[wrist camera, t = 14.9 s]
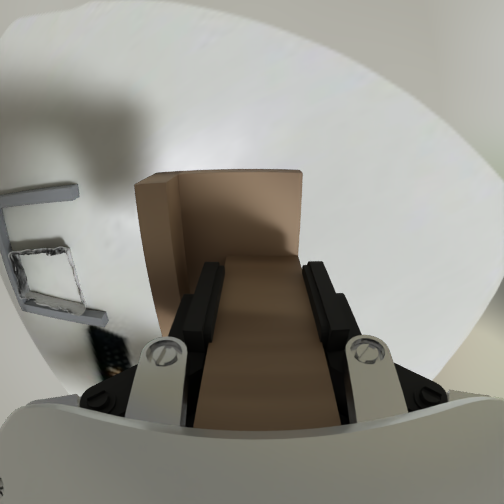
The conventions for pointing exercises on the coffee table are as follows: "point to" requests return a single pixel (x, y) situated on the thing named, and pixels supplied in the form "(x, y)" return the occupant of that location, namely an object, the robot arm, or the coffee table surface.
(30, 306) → the bay
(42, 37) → the coffee table surface
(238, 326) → the tan l-shaped bracket
